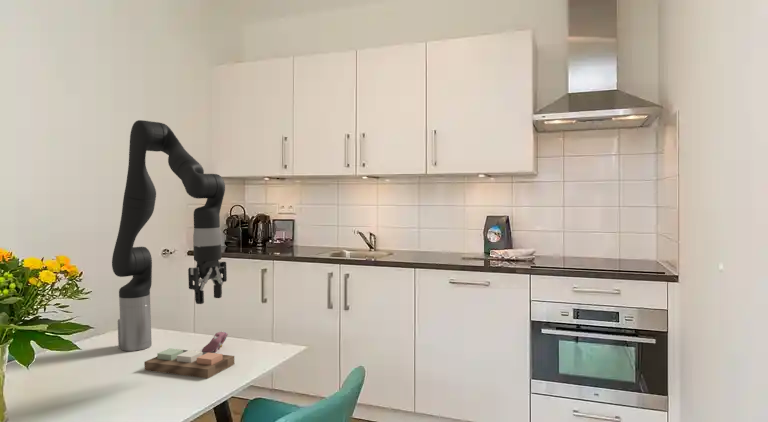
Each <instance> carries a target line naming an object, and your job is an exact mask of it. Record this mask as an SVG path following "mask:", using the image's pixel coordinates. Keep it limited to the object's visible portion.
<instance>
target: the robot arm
mask: <svg viewBox="0 0 768 422" xmlns="http://www.w3.org/2000/svg"><path fill="white" fill-rule="evenodd" d="M128 151H129V152H128V167H127V175H126V182H125V188H124V193H123V200H122V207H121V217H120V222H119V228H118V233H117V236H116V241H115V245H114V249H113V252H112V256H111V257H112V258H111V269H112V271H113V273H114V274H115V276H117V277H120V278H126V277H132V278H131V280H130V281H129V282H127V283H126V284H125V285H123V286H121V287H120V288H119V290H118V300H119V301H118V302H119V319H117V337H118V338H117V339H118V340H117V342H118V349H121V351H124V352H134V351H140V350H145V349H148V348H150V347H151V346H152V315H151V312H152V311H151V288H152V282H153V281H152V280H153V273H152V272H153V260H152V259H153V258H152V254H151V252H150V250H149V249H148V248H147V247H146V246H134V245H135V241H136V239H137V236H138V234H139V233H140V231H141V230H142V229H143V228H144V226H145V225H146V224H147V223H148V221H149V220H150V219H151V217H152V216H153V213H154V212H155V211H154V210H155V206H156V199H157V190H156V187H155V184H154V182H153V180H152V178H151V176H150V174H149V173H148V169H147V167H146V166H147V165H146V158H147V157H146V156H147V152H162V153H164V154H166V155H167V156H168V157H167V162H168V166H169V168H170V170H171V171H172V172H173V173H174V174H175V175H176V176H177V178H179V179H180V180H181V182H182V185H183V186H184V189H185V191H186V194H187V195H189V196H190V197H191V198H193V199H206V201H205V204H204V205H202V206H199V207H196V208H195V209H194V210H193V234H192V235H193V237H192V238H193V246H192V247H193V260H194V261H195V262H196V265H195V267H189V268H188V270H187V271H188V272H187V273H188V274H187V275H188V278H187V279H188V290H192V291H194V301H195V304H197V305H203V304H204V303H205V298H204V297H205V295H204V293H205V291H204V288H205V284H207V283H208V281H209V280H211V281H212V283H213V298H214V299H220V298H222V295H223V289H222V288H223V287H222V286H223V285H224V283H225V282H227V281H228V280H227V279H228V278H227V277H228V276H227V262H226V261H220V260H222V256H223V255H222V233H221V221H220V220H221V219H220V217H221V216H220V213H221V208H222V205H223V200H224V196H225V192H226V183H225V181H224V179H223V176H221V175H220V174H217V173H204V172H205V170H204V168H203V166H202V165H201V163H199V162H198V160H196V159H195V158H194V157H193V156H192V155H191V154H190V153H189V152H188V151H187V150H186V149H185V147H184V146H183V145H182V143H181V142H180V140H179V139H178V137H177V136H176V135H175V133H174V132H173V130H172V129H171V127H170V126H168V125H167V124H165V123H163V122H158V121H152V120H151V121H150V120H140V119H139V120H136V121H135V122H134V123H133V124H132V127H131V131H130V135H129V149H128Z"/></svg>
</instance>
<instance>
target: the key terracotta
mask: <svg viewBox="0 0 768 422" xmlns="http://www.w3.org/2000/svg"><path fill="white" fill-rule="evenodd" d="M223 355H224V354H222V353H216V352H211V353H206V354H204V355H202V356H200V357H197V364H206V365H213V364H215V363H217V362H219V361H221V360H223Z"/></svg>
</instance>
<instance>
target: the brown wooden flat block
mask: <svg viewBox="0 0 768 422" xmlns="http://www.w3.org/2000/svg"><path fill="white" fill-rule="evenodd" d="M182 350H183V353H184V352H186V351H190V350H189V349H182ZM206 353H208V352H203V355H204V354H206ZM143 362H144V364H143V365H144V371H148V372H156V373H163V374H169V375H170V374H171V375H178V376H185V377H195V378H200V379H209V378H213V376H216V375H217V374H219V373H221V372H222V371H225V370H227V369H228V368H230V367H233V366H234V365H235V355H228V354H223V360H221V361H219V362H217V363H215V364H213V365H206V364H197V360H196V361H194V362H192V363H189V362H180V361H177V358H176V359H174V360H163V359H158V356H154V357H153V358H150V359H148V360H145V361H143Z"/></svg>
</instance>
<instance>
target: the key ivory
mask: <svg viewBox="0 0 768 422" xmlns="http://www.w3.org/2000/svg"><path fill="white" fill-rule="evenodd" d="M202 355H203V352H202V351H196V350H189V351H186V352H184V353H182V354H179V355H177V361H180V362H189V363H192V362H194V361H196V360H197V357H200V356H202Z"/></svg>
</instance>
